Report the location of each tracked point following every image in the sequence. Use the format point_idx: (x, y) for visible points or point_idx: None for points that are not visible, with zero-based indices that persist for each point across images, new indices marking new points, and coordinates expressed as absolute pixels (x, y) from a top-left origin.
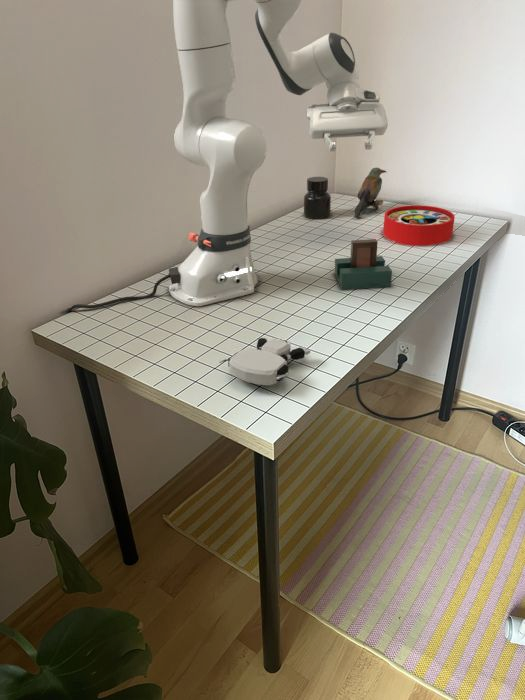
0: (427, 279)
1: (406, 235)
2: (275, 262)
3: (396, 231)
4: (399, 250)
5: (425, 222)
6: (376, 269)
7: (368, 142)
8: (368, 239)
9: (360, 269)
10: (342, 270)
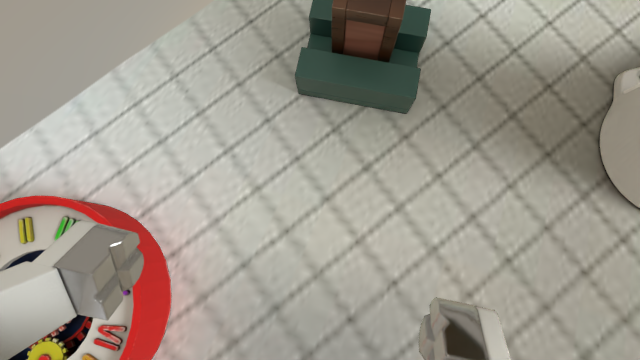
0: (226, 24)
1: (137, 232)
2: (532, 238)
3: (150, 262)
4: (188, 201)
5: None
6: None
7: (89, 248)
8: (352, 9)
9: None
10: (424, 25)
